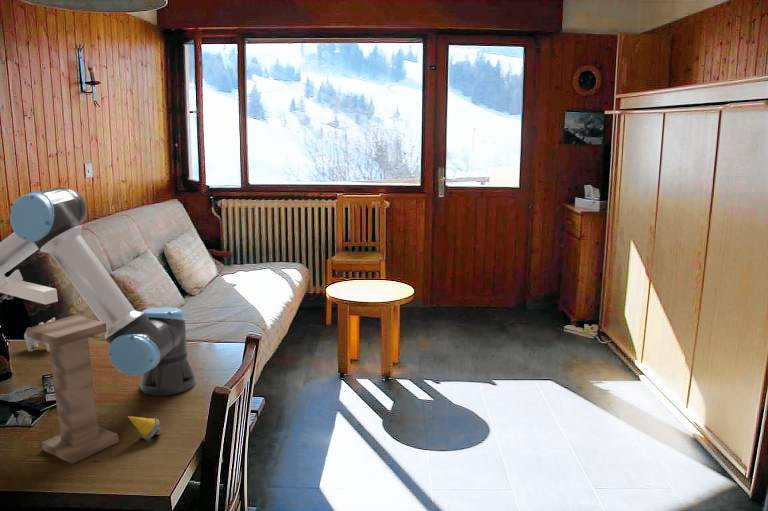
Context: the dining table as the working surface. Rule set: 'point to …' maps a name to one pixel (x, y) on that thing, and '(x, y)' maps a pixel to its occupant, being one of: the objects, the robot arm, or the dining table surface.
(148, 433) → the drill bit
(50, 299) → the bar
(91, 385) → the pedestal
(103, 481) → the dining table surface
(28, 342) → the dog figurine
